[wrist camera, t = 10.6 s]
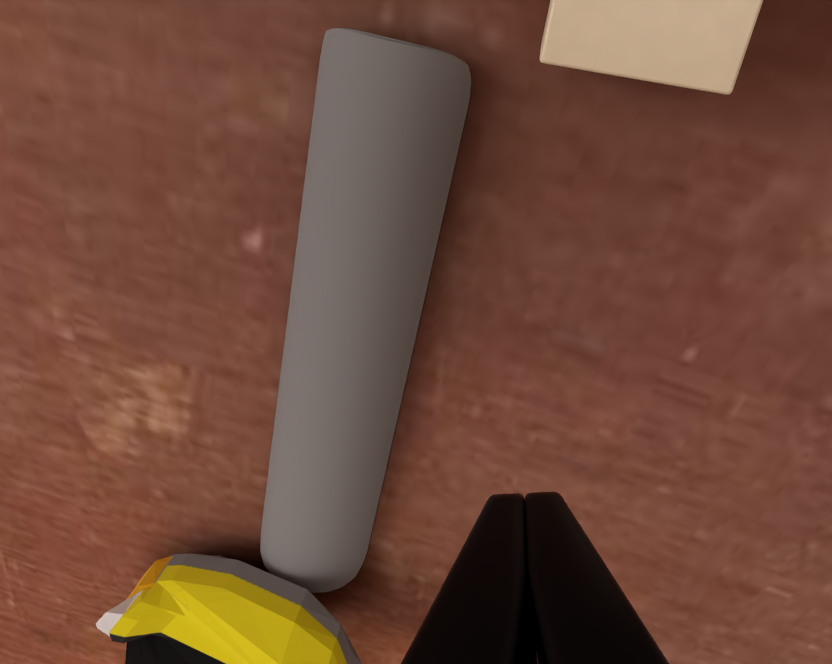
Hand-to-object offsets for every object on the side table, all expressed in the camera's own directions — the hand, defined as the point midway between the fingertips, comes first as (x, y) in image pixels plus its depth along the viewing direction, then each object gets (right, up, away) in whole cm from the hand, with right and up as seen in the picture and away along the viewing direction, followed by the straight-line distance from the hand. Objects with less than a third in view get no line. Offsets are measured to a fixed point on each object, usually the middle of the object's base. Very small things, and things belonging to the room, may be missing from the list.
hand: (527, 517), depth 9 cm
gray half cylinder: (-4, +2, +15) cm, 15 cm away
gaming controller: (-9, -12, +22) cm, 27 cm away
